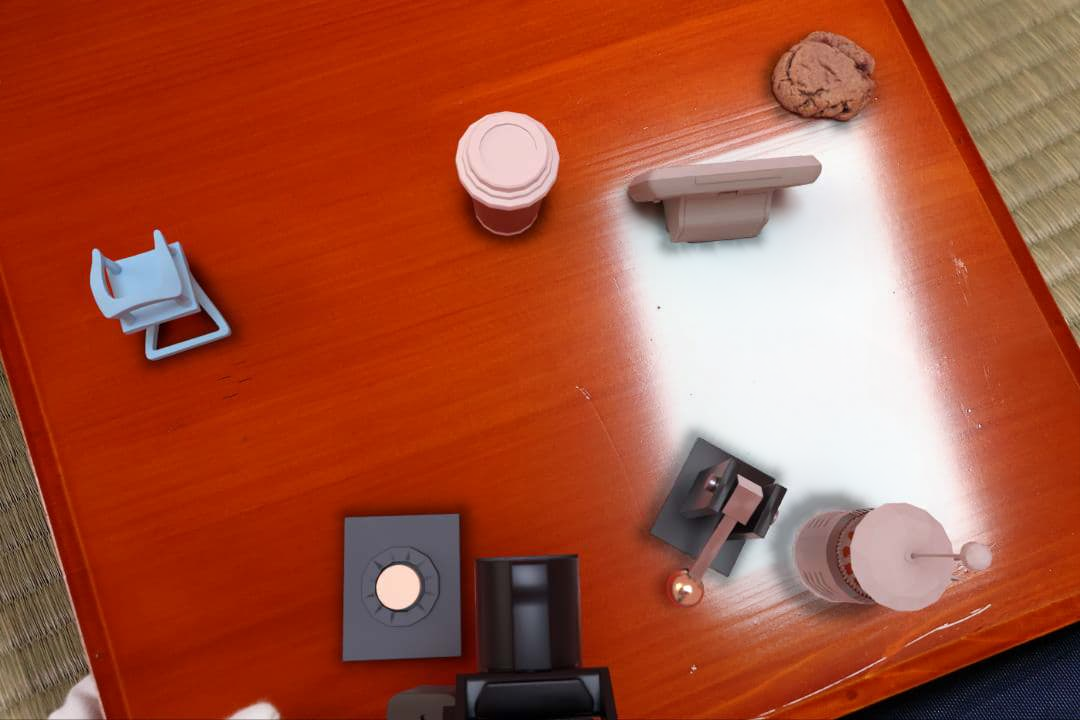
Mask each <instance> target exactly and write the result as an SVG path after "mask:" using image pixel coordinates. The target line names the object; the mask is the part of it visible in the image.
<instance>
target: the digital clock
mask: <svg viewBox="0 0 1080 720" xmlns="http://www.w3.org/2000/svg"><path fill="white" fill-rule="evenodd" d="M822 165H823V164H822V163H821V161H819V159H817V157H815V155H812V154H810V155H808V154H807V155H792V156H784V157H783V156H781V157H770V158H758V159H747V160H736V161H723V162H713V163H712V162H711V163H702V164H691V165H679V166H668V167H667V166H666V167H659V168H654V169H651V170H648V171H645V172H643V173H641V174H638V175H636V176H634V177H633V178H632V180H631V181H630V183H628V184H629V185H628V186H627V191H628V194H629V196H630V197H631V199H632V200H633V201H635V202H636V203H644V202H653V204H657V203H661V201H662V204H663V210H664V217H665V223H666V229H667V233H668V234H669V239H670V243H672V244H675V243H676V244H677V243H684V242H685V243H688V244H690V243H701V242H712V241H721V240H732V239H733V240H734V239H743V238H753V237H754V238H755V237H758V235H759V234H760V233H761V231H762V230H763V229H764V228H765V227H766V226H767V225H768V223H769V220H770V217H771V214H770V213H771V204H772V199H773V194H774V191H777V190H778V191H779V190H784V189H788V188H794V187H800V186H801V187H802V186H806V185H810V184H814V183H815V182H816V181H817V180H818V179H819V177H820V175H821V173H822V170H823V166H822Z"/></svg>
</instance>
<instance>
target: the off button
mask: <svg viewBox="0 0 1080 720" xmlns="http://www.w3.org/2000/svg"><path fill="white" fill-rule="evenodd" d="M376 589H377V595H378V597H379V599H380V601H381V602H382V603H383V604H384V605H385V606H387V607H388V608H391V609H395V610H399V609H404V608H407V607H409V606H410V605H412V604H413V603H414V602H415V601H416V600H417V599H418V597H419V595H420V593H421V589H422V583H421V579H420V576H419V574H418V573H417V572H416V571H415V570H414V569H413V568H412V567H410V566H407V565H394V566H391V567H389V568H387V569H386V570H384V571H383V572H382V574H381V575H380V577H379V579H378V581H377V587H376Z"/></svg>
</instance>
